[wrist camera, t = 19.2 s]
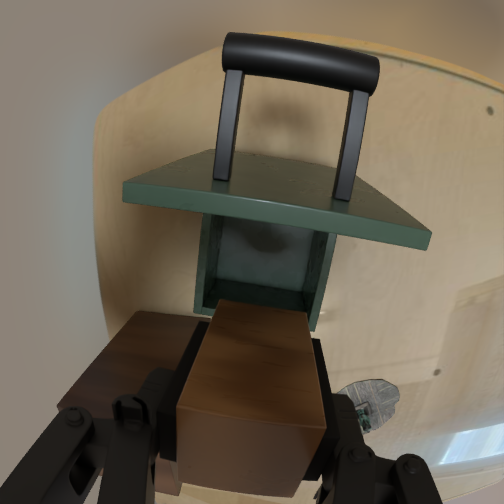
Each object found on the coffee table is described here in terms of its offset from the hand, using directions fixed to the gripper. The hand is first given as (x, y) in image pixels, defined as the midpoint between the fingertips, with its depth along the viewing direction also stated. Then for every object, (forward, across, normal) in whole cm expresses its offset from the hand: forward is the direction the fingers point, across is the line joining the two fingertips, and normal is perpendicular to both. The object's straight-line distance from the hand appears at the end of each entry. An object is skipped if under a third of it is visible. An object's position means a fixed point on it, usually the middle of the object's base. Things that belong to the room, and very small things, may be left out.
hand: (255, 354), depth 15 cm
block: (+1, 0, 0) cm, 1 cm away
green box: (+22, 0, +2) cm, 22 cm away
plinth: (+22, -10, -16) cm, 29 cm away
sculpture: (+22, +19, -23) cm, 37 cm away
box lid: (+5, 0, +8) cm, 9 cm away
